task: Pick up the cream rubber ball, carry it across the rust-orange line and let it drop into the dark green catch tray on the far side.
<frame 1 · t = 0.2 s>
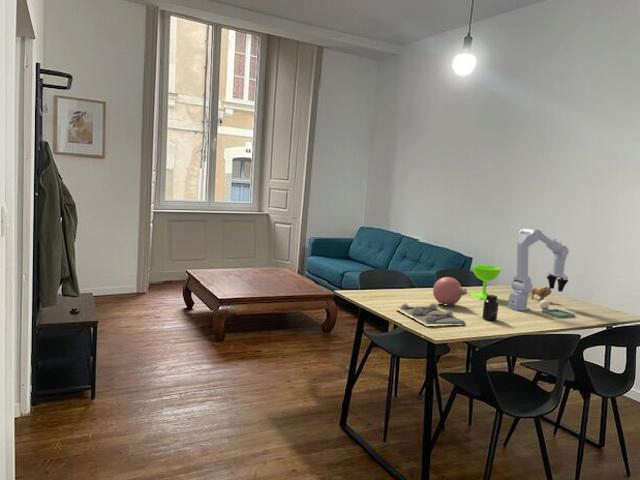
hand: (555, 289, 281), 10 cm above the table, tool pointing down, fingers open, 7 cm apart
lion figurine: (538, 300, 298), on the table
catch tray: (558, 314, 264), on the table
supplement bottle: (489, 319, 246), on the table
grey bumpy flat slab: (428, 319, 243), on the table
balloon: (449, 306, 269), on the table
ball: (543, 308, 276), on the table
wineglass: (483, 297, 297), on the table
throw line: (549, 310, 272), on the table
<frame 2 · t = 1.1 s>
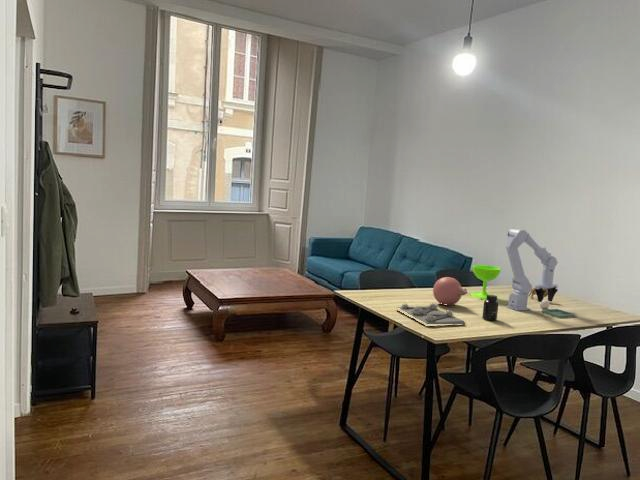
hand: (544, 301, 276), 4 cm above the table, tool pointing down, fingers open, 7 cm apart
nothing on the table moved.
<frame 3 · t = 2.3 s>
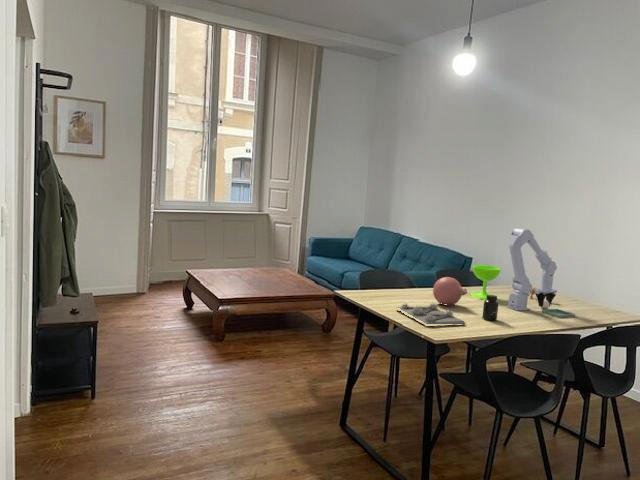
hand: (544, 306, 276), 1 cm above the table, tool pointing down, fingers closed on ball, 5 cm apart
ball: (543, 308, 276), on the table, touching gripper
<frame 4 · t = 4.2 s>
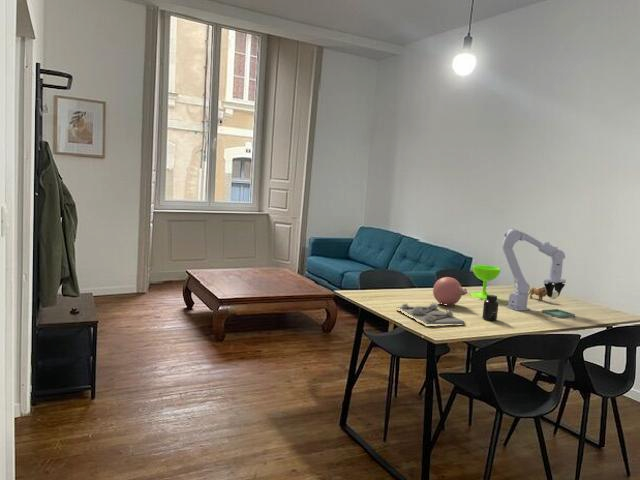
hand: (553, 296, 269), 8 cm above the table, tool pointing down, fingers closed on ball, 5 cm apart
ball: (552, 299, 269), point 7 cm above the table, touching gripper
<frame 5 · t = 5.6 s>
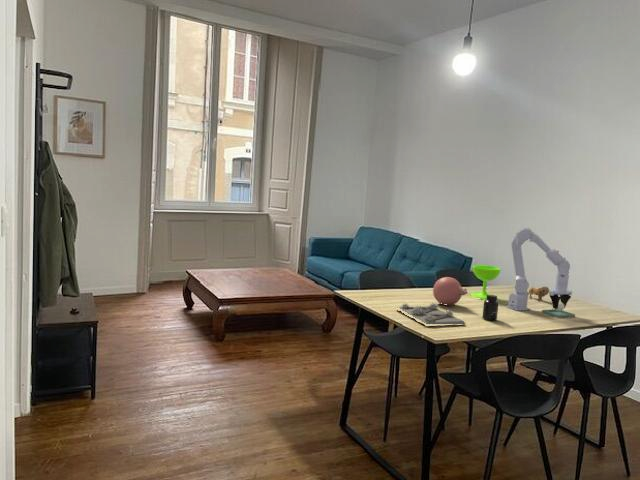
hand: (558, 308, 264), 3 cm above the table, tool pointing down, fingers closed on ball, 5 cm apart
ball: (558, 311, 264), point 2 cm above the table, touching gripper
when the fingers open (3 cm above the table, at t = 6.4 s): ball drops 2 cm, resting on catch tray.
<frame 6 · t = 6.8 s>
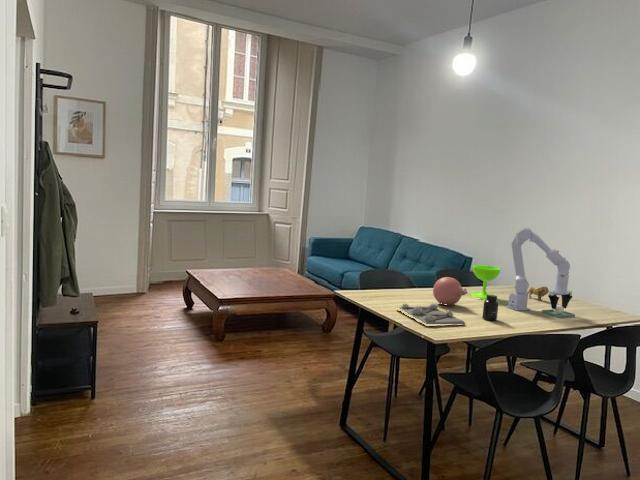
hand: (558, 308, 264), 3 cm above the table, tool pointing down, fingers open, 7 cm apart
ball: (558, 314, 264), resting on catch tray
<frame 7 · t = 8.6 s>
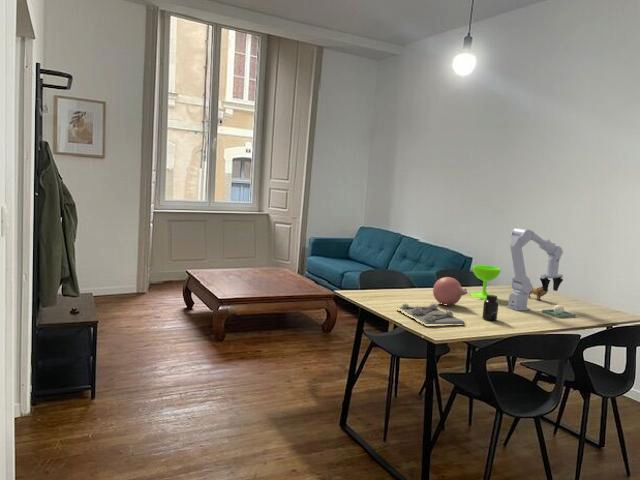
hand: (550, 290, 278), 9 cm above the table, tool pointing down, fingers open, 7 cm apart
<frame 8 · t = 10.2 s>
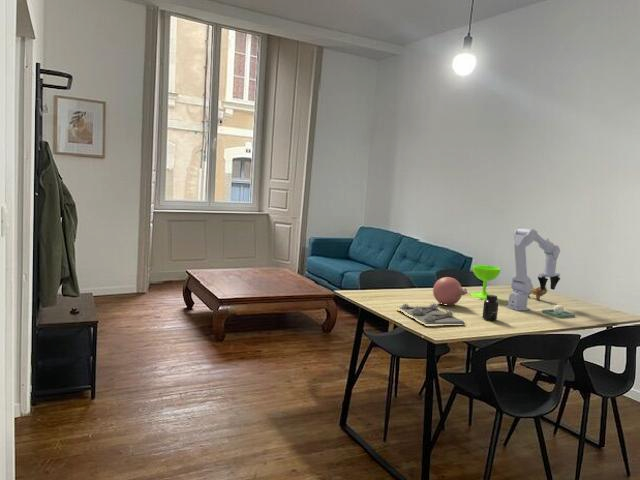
hand: (547, 289, 282), 9 cm above the table, tool pointing down, fingers open, 7 cm apart
at the end: ball inside the target area on the catch tray (0.0 cm from its centre), point 0.3 cm above the catch tray's base; the gripper is holding nothing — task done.
